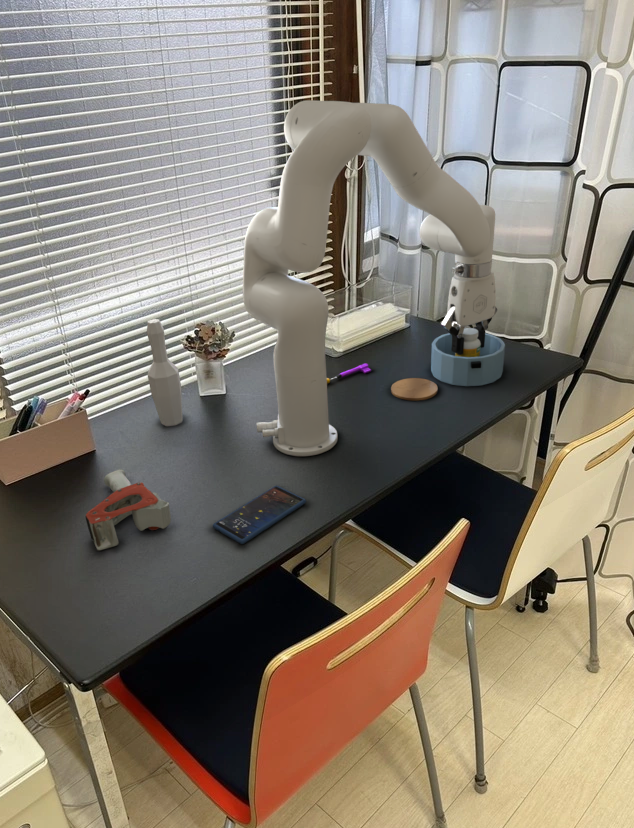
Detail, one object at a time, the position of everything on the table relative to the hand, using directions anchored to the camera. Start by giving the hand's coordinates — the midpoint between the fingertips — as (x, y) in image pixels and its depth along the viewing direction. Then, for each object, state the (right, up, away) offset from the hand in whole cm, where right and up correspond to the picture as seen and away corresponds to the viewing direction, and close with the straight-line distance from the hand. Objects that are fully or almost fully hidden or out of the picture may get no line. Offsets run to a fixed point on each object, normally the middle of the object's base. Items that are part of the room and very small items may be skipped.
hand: (467, 348), depth 157 cm
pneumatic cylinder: (-28, -7, +4) cm, 29 cm away
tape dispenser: (-66, -35, -37) cm, 83 cm away
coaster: (-12, -10, -4) cm, 16 cm away
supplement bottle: (0, -5, +3) cm, 6 cm away
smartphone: (-44, -35, -40) cm, 68 cm away
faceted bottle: (-64, -17, -8) cm, 67 cm away
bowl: (0, -5, +3) cm, 5 cm away
